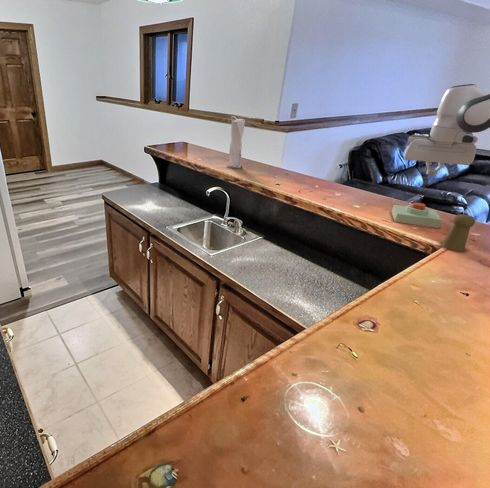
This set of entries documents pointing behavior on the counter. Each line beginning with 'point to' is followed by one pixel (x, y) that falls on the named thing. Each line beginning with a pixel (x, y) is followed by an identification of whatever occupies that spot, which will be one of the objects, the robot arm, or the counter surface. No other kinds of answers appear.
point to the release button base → (416, 216)
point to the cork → (459, 233)
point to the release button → (418, 206)
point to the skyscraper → (236, 143)
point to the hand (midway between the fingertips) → (431, 174)
